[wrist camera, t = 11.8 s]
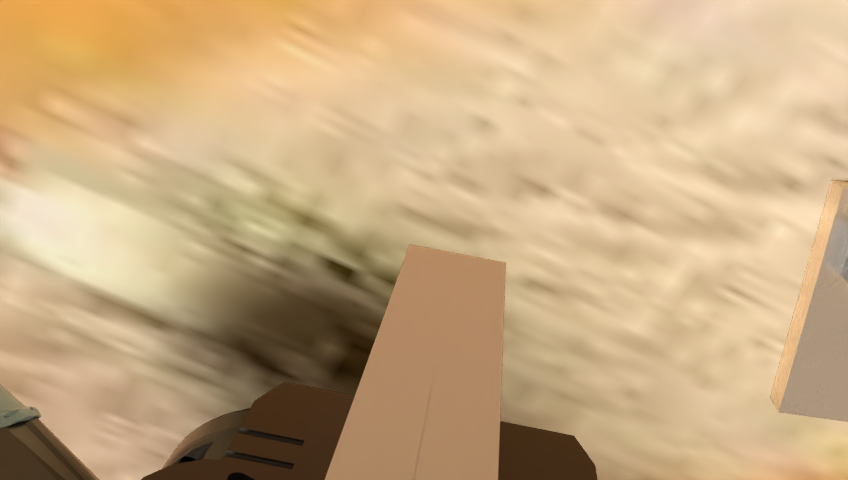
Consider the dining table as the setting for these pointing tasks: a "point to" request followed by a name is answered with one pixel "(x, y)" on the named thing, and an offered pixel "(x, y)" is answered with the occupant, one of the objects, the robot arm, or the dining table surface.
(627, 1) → the dining table surface
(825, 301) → the bolt plate
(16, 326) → the dining table surface
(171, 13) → the dining table surface
